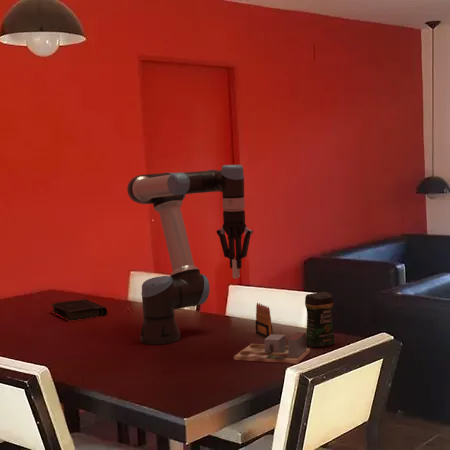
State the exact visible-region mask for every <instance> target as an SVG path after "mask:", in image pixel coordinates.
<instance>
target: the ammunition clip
mask: <svg viewBox="0 0 450 450" xmlns="http://www.w3.org/2000/svg"><path fill="white" fill-rule="evenodd" d="M255 306H256V307H255V334H256V335H258V336H260V337H263V338H264V339H265V338H267V337H268V336H270V335H271V334H274V333H273V325H272V317H271V309H270V307H269V306H267V305H264V304H262V303H260V302H259V303H258V302H256V305H255Z"/></svg>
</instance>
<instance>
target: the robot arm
mask: <svg viewBox="0 0 450 450" xmlns="http://www.w3.org/2000/svg"><path fill="white" fill-rule="evenodd" d="M126 191H127V194H128V197H129V199H131V201H133V202H135V203H137V204H141V205H151V204H152V206H153V209H154V211H156V212H158V213H159V217H160V218H159V219H160V222H161V226H162V231H163V235H164V239H165V244H166V247H167V252H168V255H169V257H168V258H169V260H170V261H169V262H170V265H171V269H172V272H171V274H170V275H162V276H161V275H160V276H156V277H151V278H149V279H145V281H144V282H143V283H142V284H141V293H140V294H141V301H142V302H141V303H142V312H143V313H142V314H143V315H142V316H143V323H142V326H141V329H140V330H141V331H140V334H139V338H140V339H139V340H140V342H141V343H142V344H145V345H166V344H171V343H174V342H177V341H179V340H180V339H181V331H180V329H179V327H178V323H177V322H176V321H177V320H176V318H175V310H179V309H186V308H190V307H197V306H199V305H203V304H205V303H206V301H207V300H208V298H209V296H210V289H211V288H210V282H209V279H208V277H207V276H206V275H205V274H204V273H203V274H202V273H201V270H200V268H199V267H197V266H196V265H195V262H194V258H193V255H192V251H191V250H192V249H191V247H190V241H189V237H188V235H187V230H186V229H187V228H186V226H185V225H186V224H185V222H184V218H183V217H184V216H183V213H182V209H181V207H182V205H183V203H184V202H183V201H184V199H185V198H186V195H191V194H192V195H193V194H204V193H214V192H215V193H217V192H219V193H222V209H223V212H222V216H223V217H222V218H223V224H222V225H221V226H222V227H221V228H219V229H218V230H216V234H217V236H218V237H219V240H220V241H219V242H220V245H221V248H222V249H221V250H222V252H223V256H224V258H228V259H229V268H230V269H232V270H231V271H232V279H239V278H241V277H240V276H241V275H240V269H242V268H243V267H242V266H243V264H242V260H243V259H244V258H247V255H248V251H249V245H250V239H251V236H252V234H253V233H254V230H253V229H250V228H248V227H247V224H246V212H245V210H244V209H245V208H246V207H245V206H246V203H245V175H244V167H243V165H241V164H224V165H222V166H221V170H220V169H219V170H218V169H207V170H200V171H188V172H185V171H184V172H181V171H180V172H179V171H178V172H159V173H148V174H139V175H136V176H134V177H133V178H131V180H130V181H128V183H127V187H126ZM226 235H227V238H226ZM243 235H244V239H243V244H242V237H243Z"/></svg>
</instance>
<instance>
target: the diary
mask: <svg viewBox="0 0 450 450" xmlns="http://www.w3.org/2000/svg"><path fill="white" fill-rule="evenodd" d="M50 306H51V307H52V309H53V311H50V313H51V312H55V314H56V313H57V314H59V315H61V316H62V317H64V318H66V319H68V320H70V321H71V320H78V319H84V320H86V319H85V318H90V317H93V318H97V317H96V316H99V315H101V316H99V317H102V316H105V315H108V309H107V307H106V306H104V305H101V304H98V303H96V302H93V301H90V300H89V299H84V298H83V299H79V300H77V299H76V300H66V301H59V302H54V303H51V304H50ZM103 314H104V315H103ZM90 319H91V318H90ZM78 321H79V320H78Z"/></svg>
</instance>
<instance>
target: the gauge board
mask: <svg viewBox="0 0 450 450" xmlns="http://www.w3.org/2000/svg"><path fill="white" fill-rule="evenodd" d="M310 352H311V349H310V348H306V351H305V352H304V353H303V354H302V355H301V356H300V357H298V358H289V354H288V345H286V350H285V351H283V352H282V353H275V352H272V353H270V354H269V355H267V352H265V346H264V344H263V343H249V345H247V346H246V347H244V348H243V349H241V350H240V351H239V352H237V353H236V354H234V356H233V359H234V361H235V360H236V361H249V362H250V361H251V362H263V363H264V362H267V363H280V364H281V363H282V364H295V365H297V364H299V363H300V362H301V361H302V360H303V359H304V358H305V357H307V355H309V353H310Z"/></svg>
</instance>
